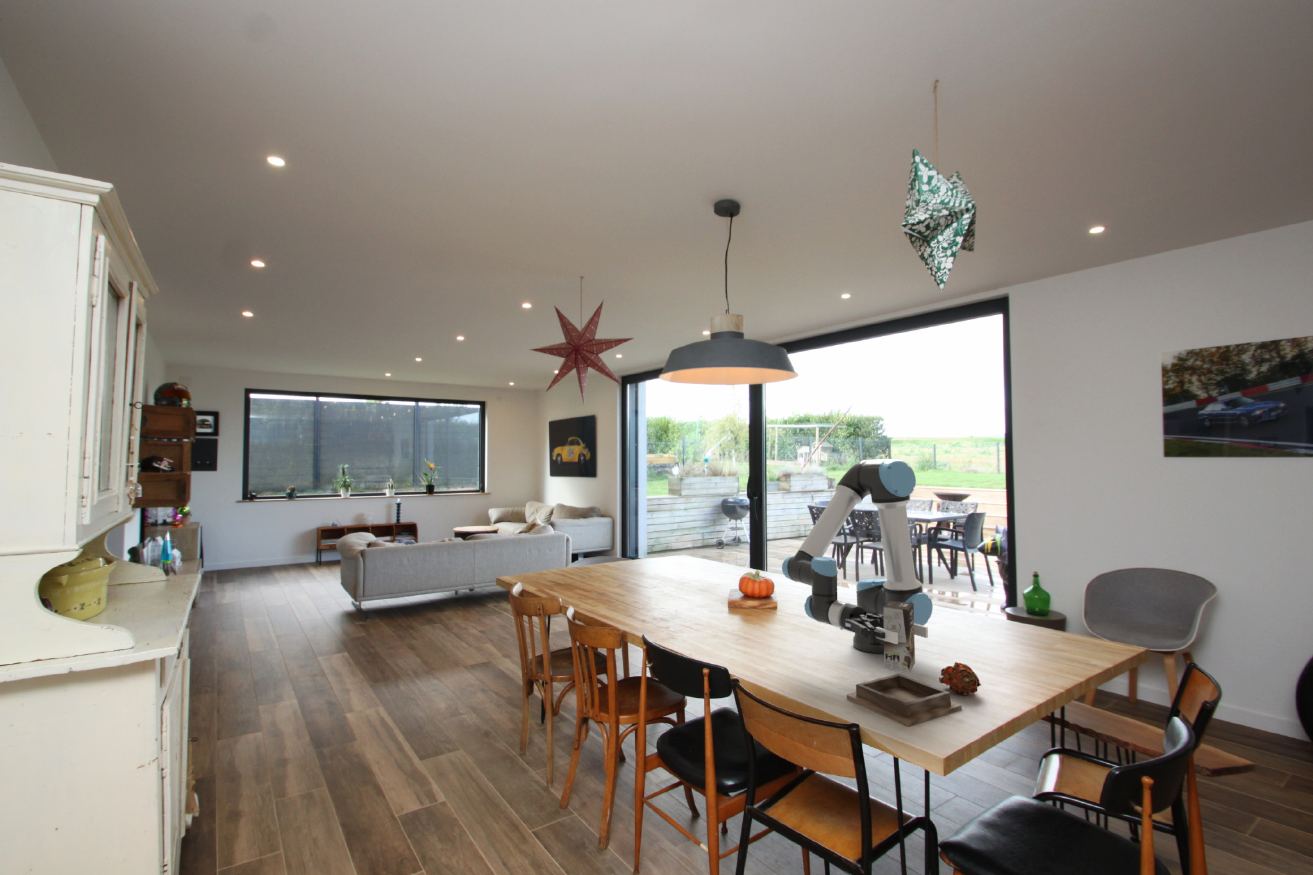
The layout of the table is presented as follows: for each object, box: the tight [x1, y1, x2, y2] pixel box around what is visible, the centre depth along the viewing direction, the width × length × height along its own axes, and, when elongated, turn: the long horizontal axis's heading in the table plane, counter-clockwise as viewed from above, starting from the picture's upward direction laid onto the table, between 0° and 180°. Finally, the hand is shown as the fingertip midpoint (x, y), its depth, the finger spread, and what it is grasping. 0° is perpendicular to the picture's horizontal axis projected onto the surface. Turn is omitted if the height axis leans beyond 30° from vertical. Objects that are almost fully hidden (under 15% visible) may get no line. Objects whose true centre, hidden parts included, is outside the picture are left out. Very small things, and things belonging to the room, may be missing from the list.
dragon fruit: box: [938, 661, 982, 696], centre depth 168 cm, size 8×8×12 cm
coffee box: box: [883, 601, 916, 674], centre depth 161 cm, size 9×6×16 cm
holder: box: [845, 673, 963, 727], centre depth 160 cm, size 20×20×4 cm
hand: (912, 635), depth 157 cm, fingers closed on coffee box, 11 cm apart
